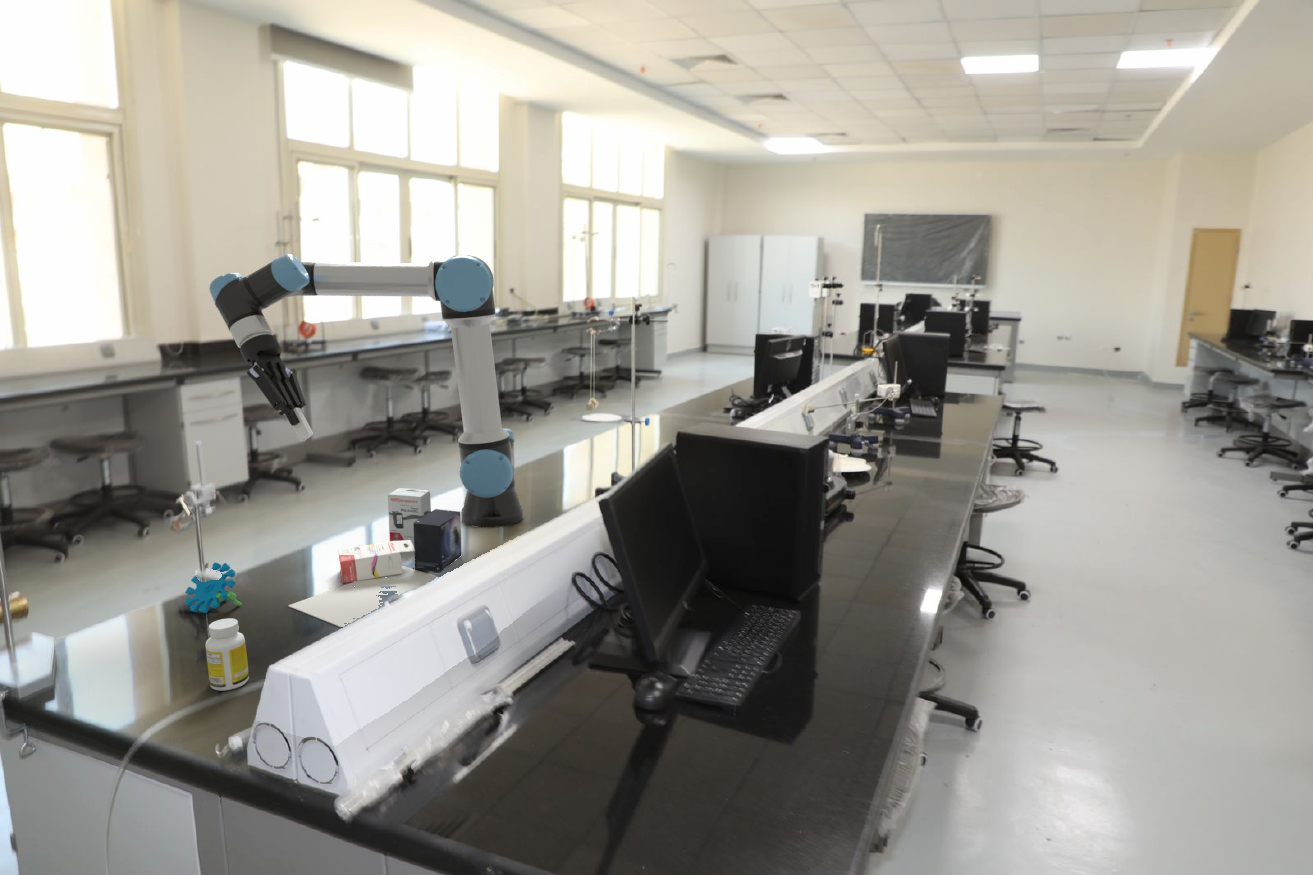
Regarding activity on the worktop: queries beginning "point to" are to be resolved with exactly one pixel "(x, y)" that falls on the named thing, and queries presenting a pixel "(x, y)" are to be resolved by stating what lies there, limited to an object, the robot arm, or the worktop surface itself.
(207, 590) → the gear
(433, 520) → the small box
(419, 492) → the ink box
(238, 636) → the supplement bottle
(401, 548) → the ink cartridge box
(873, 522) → the worktop surface
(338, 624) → the mat
